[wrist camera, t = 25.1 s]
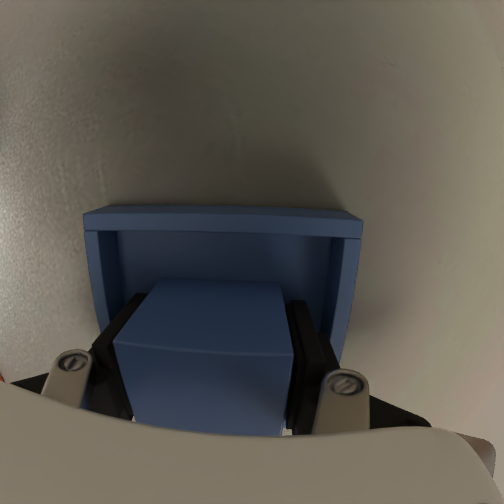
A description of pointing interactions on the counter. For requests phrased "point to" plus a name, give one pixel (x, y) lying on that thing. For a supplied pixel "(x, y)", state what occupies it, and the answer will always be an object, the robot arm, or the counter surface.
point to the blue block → (208, 357)
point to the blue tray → (227, 254)
